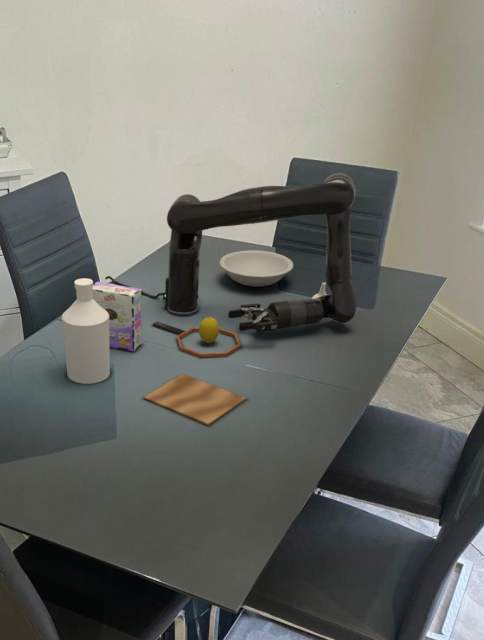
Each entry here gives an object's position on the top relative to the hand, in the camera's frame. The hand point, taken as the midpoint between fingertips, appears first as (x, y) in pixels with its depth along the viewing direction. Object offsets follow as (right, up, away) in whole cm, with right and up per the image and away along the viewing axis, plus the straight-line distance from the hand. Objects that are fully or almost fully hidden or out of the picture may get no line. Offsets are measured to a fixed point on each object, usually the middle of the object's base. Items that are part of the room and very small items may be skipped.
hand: (234, 320), depth 208 cm
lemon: (-7, -6, +2) cm, 10 cm away
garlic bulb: (+30, +10, +22) cm, 38 cm away
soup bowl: (+11, +22, +38) cm, 46 cm away
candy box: (-33, -6, +2) cm, 34 cm away
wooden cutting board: (-13, -26, -23) cm, 36 cm away
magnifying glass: (-11, -4, +5) cm, 13 cm away
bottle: (-40, -17, -12) cm, 45 cm away
